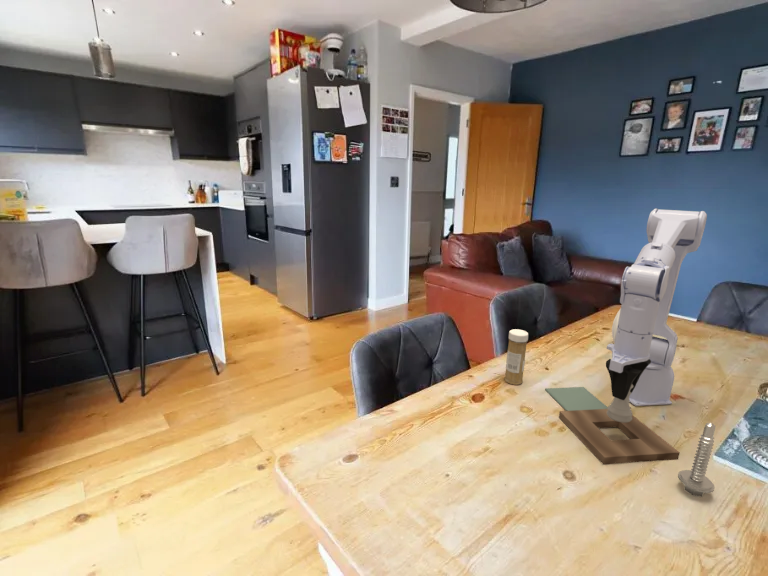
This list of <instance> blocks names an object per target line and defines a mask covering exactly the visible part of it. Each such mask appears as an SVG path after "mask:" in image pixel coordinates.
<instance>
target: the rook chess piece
mask: <svg viewBox="0 0 768 576" xmlns="http://www.w3.org/2000/svg"><path fill="white" fill-rule="evenodd" d="M633 387H634V386H633V385H631V387H630V390H631V389H632V388H633ZM630 390H629V393H628V395H627V397H626V398H625V400H621V399H618V398H616V397H613V400H612V402H611V403H610V404H609V405H608V406H607V407H608V411H607V415H608V416H609V418H611V419H612V420H614V421H617V422H621V423H627V422H630V421H631V420H632V417H631V416H632V415H633V416H634V414H633V411H632V408H631V406H630V402H629V397H630V395H631V392H630Z"/></svg>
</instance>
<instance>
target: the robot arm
mask: <svg viewBox="0 0 768 576" xmlns="http://www.w3.org/2000/svg"><path fill="white" fill-rule="evenodd" d="M707 217H708V214H707V213H706V211H704V210H701V211H694V210H679V209H675V210H674V209H659V208H654V209H653V210H651V211H650V213H649V216H648V219H647V223H646V236H647V241H648V243H646V244H645V245H644V246H643V247H642V248H641V250H640V252H639V253H638V255H637V257H636V259H635V261H634V263H633V264H631V266H626V267H625V268H624V271H623V274H622V277H621V283H620V297H619V303H620V304H621V305H620V308H621V310H620V309H619V310H620V315H619V321H618V327H617V332H616V337H615V342H614V343H608V344H607V345H606V349H607V350H609V351H611V358H609V359H606V361H605V367H606V369H607V372H608V374H609V379H610V387H611V395H612V397H613V398H614V397H616V398H618V399H621V400H625V398H626V397H627V395H628V393H629V390H630V387H631V385H633V386H634V387H633V388H632V389H631V390H630V392H631V395H630V397H629V403H630V404H632V405H634V406H635V407H639V406H657V405H658V406H660V405H672V404H673V402H672V401H671V400H670V399H671V394H672V390H673V386H674V381H675V372H674V369H673V368H672V365H673V362H674V359H675V356H676V355H675V354H676V351H677V344H678V339H679V338H678V335H677V333H676V331H674V330H673V329H672V328H671V327H670V326H669V325H668V324H667V321H668V317H669V314H670V310H671V306H672V303H673V299H674V298H673V297H674V294H675V291H676V286H677V283H678V278H679V274H680V271H681V266H682V263H683V261H684V260H685V257H686V256H687V254H689V253H693V252H697V251H698V248H699V247H700V246H701V243H702V239H703V235H704V231H705V228H706V223H707V219H708V218H707ZM653 335H654V336H653Z"/></svg>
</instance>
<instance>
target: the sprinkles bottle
mask: <svg viewBox="0 0 768 576" xmlns="http://www.w3.org/2000/svg"><path fill="white" fill-rule="evenodd" d="M528 341H529V332H527V331H526V330H523V329H519V328H517V329H516V328H515V329H513V328H512V329H511V330H509V332H508V346H507V352H506V353H507V354H506V363H505V373H504V379H503V380H504V381H505V382H506V383H508V384H510V385H512V386H513V385H514V386H516V385H517V386H518V385H521V384H522V383H523V382H524V379H523V378H524V371H525V362H526V353H527V352H526V351H527V343H528Z"/></svg>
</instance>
